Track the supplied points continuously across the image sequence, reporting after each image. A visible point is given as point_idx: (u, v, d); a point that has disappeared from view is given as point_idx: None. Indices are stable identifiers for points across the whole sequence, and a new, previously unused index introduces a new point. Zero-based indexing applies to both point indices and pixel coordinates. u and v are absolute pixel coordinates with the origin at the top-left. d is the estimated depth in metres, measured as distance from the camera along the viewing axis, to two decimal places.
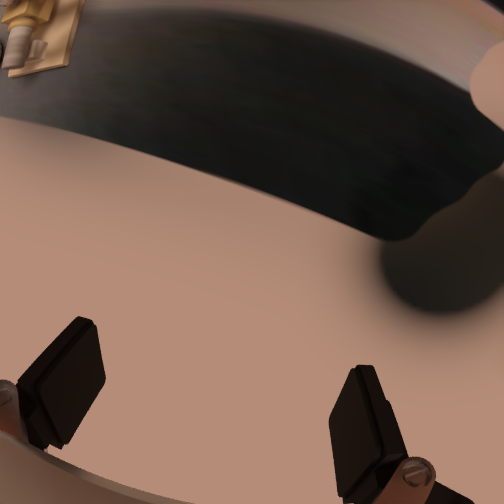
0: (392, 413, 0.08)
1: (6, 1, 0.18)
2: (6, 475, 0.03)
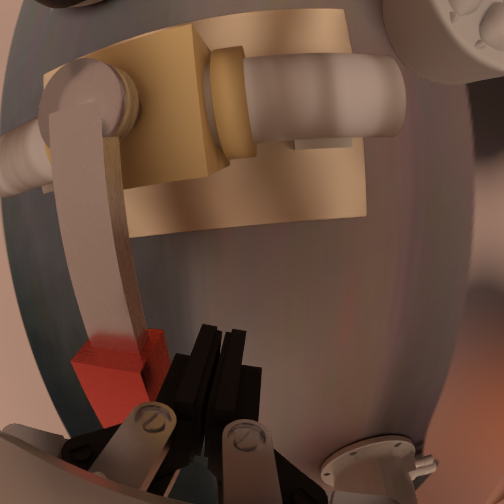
0: (259, 379, 0.09)
1: None
2: (6, 475, 0.03)
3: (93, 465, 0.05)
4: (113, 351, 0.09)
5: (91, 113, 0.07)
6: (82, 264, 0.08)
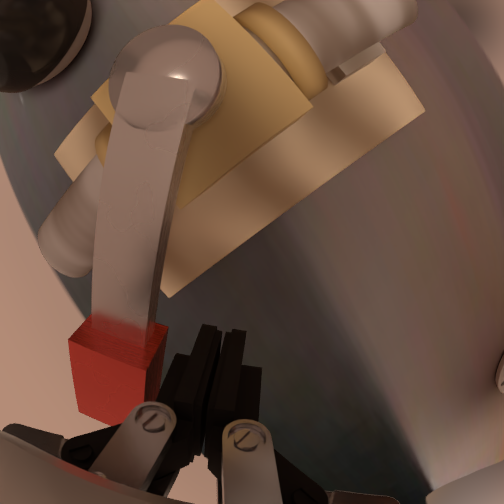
0: (259, 379, 0.09)
1: None
2: (6, 475, 0.03)
3: (93, 465, 0.05)
4: (116, 338, 0.09)
5: (180, 92, 0.07)
6: (113, 246, 0.08)
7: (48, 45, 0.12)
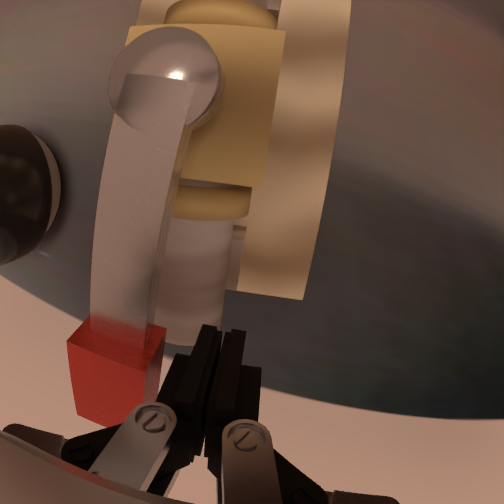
0: (259, 379, 0.09)
1: None
2: (6, 475, 0.03)
3: (93, 465, 0.05)
4: (115, 340, 0.09)
5: (179, 93, 0.07)
6: (111, 247, 0.08)
7: (31, 185, 0.15)
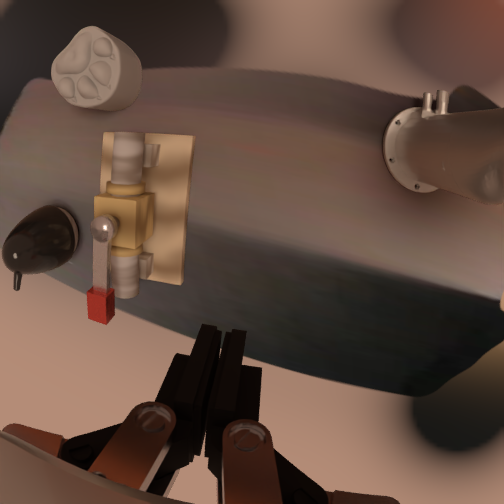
0: (259, 379, 0.09)
1: None
2: (6, 475, 0.03)
3: (93, 465, 0.05)
4: (99, 291, 0.34)
5: (105, 234, 0.32)
6: (97, 267, 0.33)
7: (66, 237, 0.40)
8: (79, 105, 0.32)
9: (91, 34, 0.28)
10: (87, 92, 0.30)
